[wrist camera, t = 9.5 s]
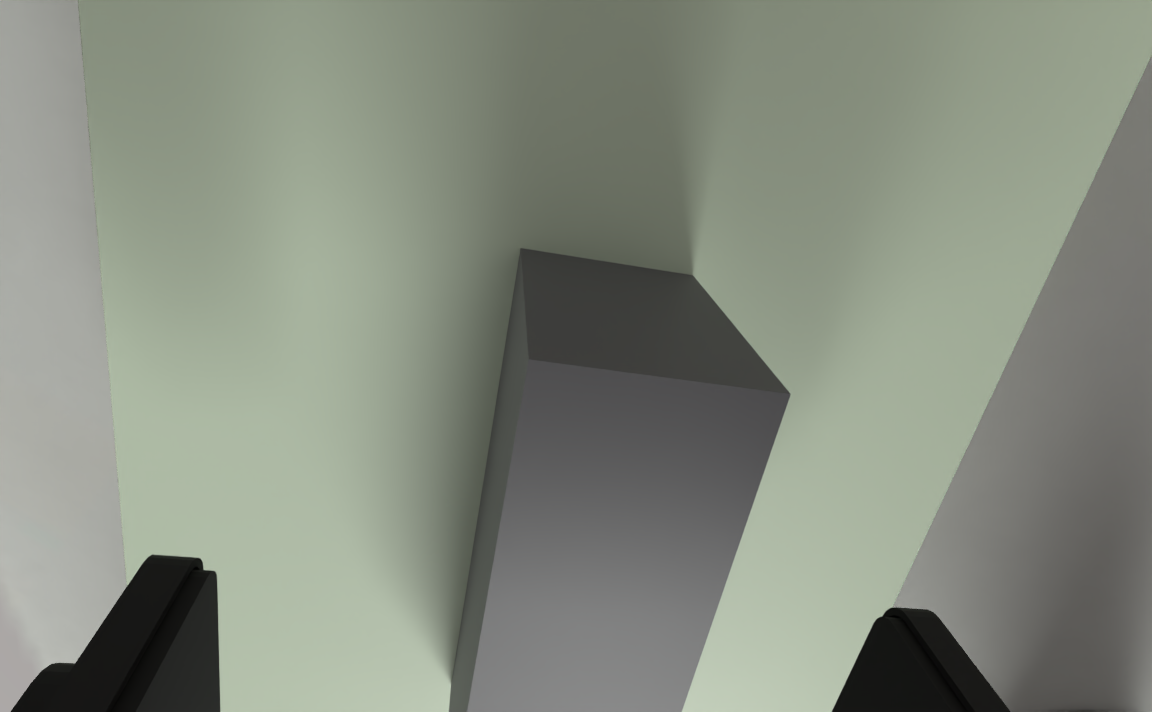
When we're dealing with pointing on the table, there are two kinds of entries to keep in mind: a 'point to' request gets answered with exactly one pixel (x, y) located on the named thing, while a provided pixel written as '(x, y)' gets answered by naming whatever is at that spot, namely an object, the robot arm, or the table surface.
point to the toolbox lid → (570, 323)
